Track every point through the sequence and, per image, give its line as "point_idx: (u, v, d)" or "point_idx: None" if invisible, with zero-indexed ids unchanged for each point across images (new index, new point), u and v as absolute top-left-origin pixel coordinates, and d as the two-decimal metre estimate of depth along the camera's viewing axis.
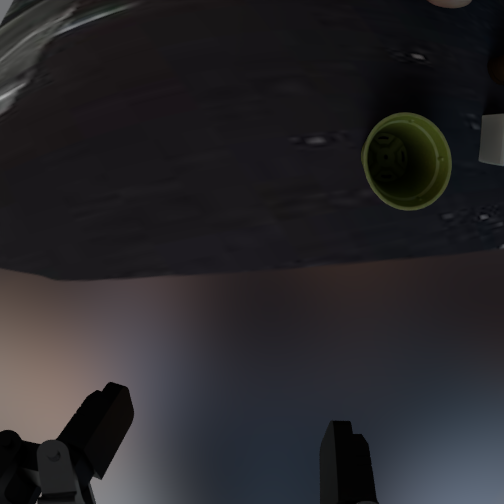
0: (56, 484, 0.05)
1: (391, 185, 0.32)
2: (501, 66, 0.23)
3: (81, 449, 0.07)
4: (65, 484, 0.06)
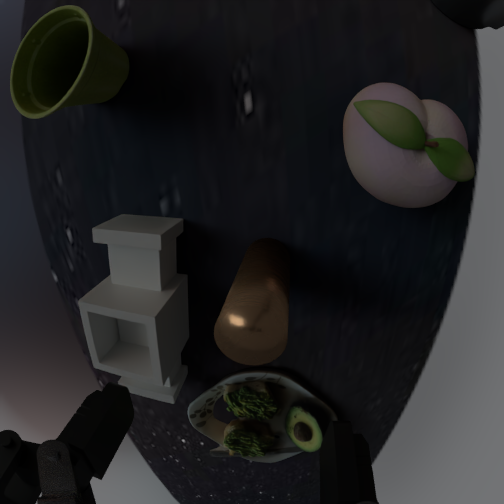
0: (56, 484, 0.05)
1: (67, 82, 0.22)
2: (259, 251, 0.24)
3: (81, 449, 0.07)
4: (65, 484, 0.06)
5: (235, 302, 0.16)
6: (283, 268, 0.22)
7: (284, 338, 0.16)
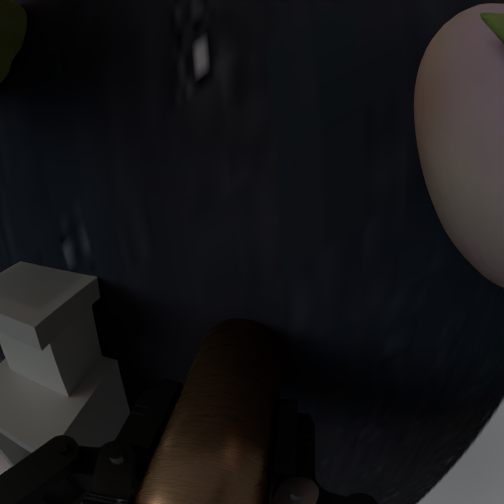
0: (109, 487, 0.06)
1: None
2: (217, 364, 0.11)
3: (146, 448, 0.08)
4: (119, 489, 0.06)
5: None
6: (263, 413, 0.10)
7: None
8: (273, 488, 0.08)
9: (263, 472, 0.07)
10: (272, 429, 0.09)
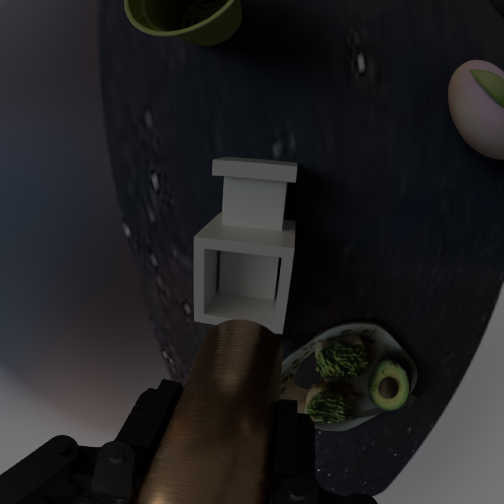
0: (109, 487, 0.06)
1: (173, 22, 0.22)
2: (217, 365, 0.11)
3: (146, 448, 0.08)
4: (120, 489, 0.06)
5: None
6: (264, 414, 0.10)
7: None
8: (273, 488, 0.08)
9: (264, 473, 0.07)
10: (273, 430, 0.09)
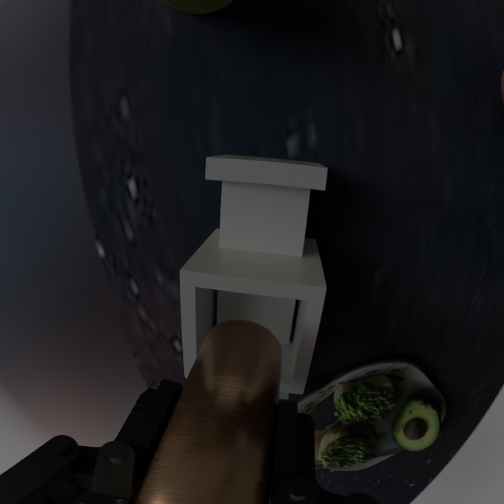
0: (109, 487, 0.06)
1: None
2: (216, 365, 0.11)
3: (146, 448, 0.08)
4: (120, 489, 0.06)
5: None
6: (263, 414, 0.10)
7: None
8: (273, 488, 0.08)
9: (263, 473, 0.07)
10: (272, 430, 0.09)
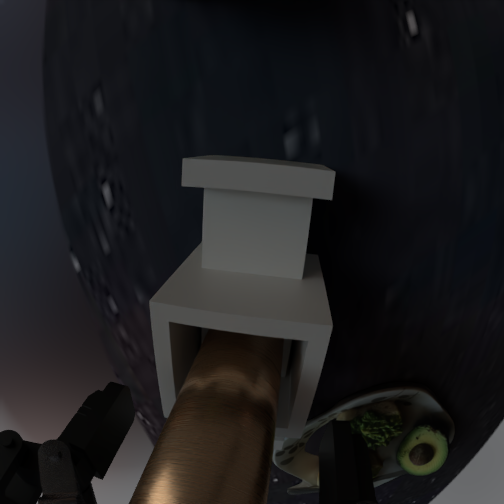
0: (57, 484, 0.05)
1: None
2: (225, 340, 0.13)
3: (82, 449, 0.07)
4: (66, 484, 0.06)
5: None
6: (267, 382, 0.11)
7: None
8: None
9: (266, 433, 0.09)
10: (274, 398, 0.11)
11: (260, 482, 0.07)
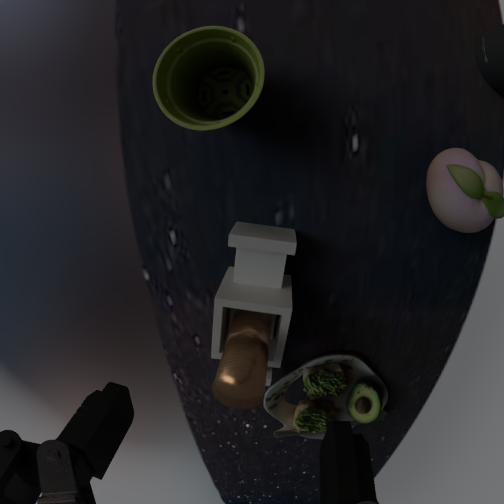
0: (56, 484, 0.05)
1: (192, 94, 0.28)
2: (246, 315, 0.29)
3: (81, 449, 0.07)
4: (65, 484, 0.06)
5: (227, 369, 0.22)
6: (265, 332, 0.28)
7: (262, 394, 0.22)
8: None
9: (265, 349, 0.26)
10: (268, 339, 0.28)
11: (264, 365, 0.24)
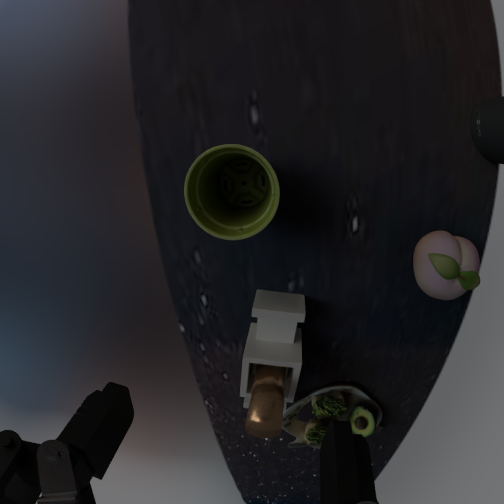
0: (56, 484, 0.05)
1: (215, 188, 0.36)
2: (267, 367, 0.37)
3: (81, 449, 0.07)
4: (65, 484, 0.06)
5: (256, 413, 0.30)
6: (281, 380, 0.35)
7: (280, 428, 0.29)
8: None
9: (282, 395, 0.33)
10: (284, 385, 0.35)
11: (281, 407, 0.32)
